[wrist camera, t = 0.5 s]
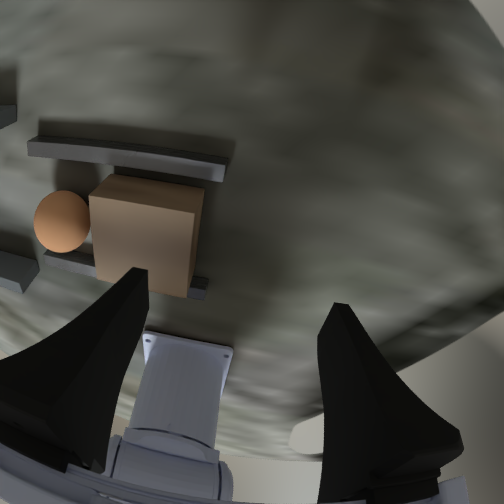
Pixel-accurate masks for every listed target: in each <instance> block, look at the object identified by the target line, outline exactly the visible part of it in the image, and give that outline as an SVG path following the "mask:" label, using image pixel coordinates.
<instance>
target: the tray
mask: <svg viewBox="0 0 504 504" xmlns="http://www.w3.org/2000/svg"><path fill="white" fill-rule="evenodd" d="M16 121H17V118H16V105H0V129H2V128H4V127H6V126H8V125H10V124H12V123H14V122H16ZM38 273H39V267H38V263H37V260H33V259H29V258H26V257H22V256H18V255H15V254H11V253H8V252H4V251H1V250H0V286H1V287H4V288H7V289H9V290H12V291H15V292H18V293H21V294H23V293H24V292H25V291H26V289H27V288H28V286H29V285H30V284H31V282H32V281H33V279H34V278H35V277H36V275H37V274H38Z"/></svg>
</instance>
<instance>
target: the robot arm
mask: <svg viewBox="0 0 504 504" xmlns="http://www.w3.org/2000/svg"><path fill="white" fill-rule="evenodd" d="M148 310H149V289H148V270H146V269H141V268H137V267H132V268H131V269H130V270H129V271H128V272H126V273H125V274H124V275H123V276H122V277H121V278H120V279H119V280H118V281H117V282H116V283H115V284H114V285H113V286H112V287H111V288H110V289H109V290H108V291H107V292H105V293H104V294H103V295H102V296H101V297H100V298H99V299H98V300H97V301H96V302H94V303H93V304H92V305H91V306H90V307H88V308H87V309H86V310H85V311H84V312H82V313H81V314H80V315H79V316H77V317H76V318H75V319H74V320H72V321H71V322H69V323H68V324H67V325H65V326H64V327H62V328H61V329H59V330H58V331H56V332H55V333H53V334H52V335H50V336H48V337H47V338H45V339H43V340H42V341H40V342H38V343H36V344H35V345H33V346H31V347H29V348H27V349H25V350H23V351H21V352H19V353H16V354H14V355H12V356H9V357H7V358H4V359H2V360H0V498H1V499H3V500H4V501H6V502H8V503H9V504H262V503H245V502H233V501H232V497H233V477H232V473H231V471H230V469H229V468H228V466H227V464H226V463H225V462H223V461H219V453H220V451H219V450H215V449H214V446H215V438H216V429H217V420H218V412H219V404H220V398H221V396H222V392H223V388H224V385H225V381H226V377H227V374H228V370H229V366H230V362H231V359H232V355H233V349H232V348H231V347H228V346H222V345H217V344H211V343H206V342H200V341H195V340H190V339H185V338H180V337H175V336H170V335H166V334H161V333H157V332H152V331H144V333H143V346H144V356H145V370H144V373H143V376H142V380H141V383H140V387H139V390H138V394H137V397H136V401H135V404H134V408H133V411H132V415H131V419H130V423H129V427H126V428H125V432H124V435H123V439H122V436H120V435H114V436H113V437H111V438H110V433H111V428H112V423H113V418H114V414H115V409H116V405H117V400H118V396H119V392H120V389H121V385H122V382H123V379H124V376H125V373H126V371H127V368H128V366H129V363H130V361H131V358H132V356H133V353H134V351H135V348H136V346H137V343H138V341H139V338H140V336H141V333H142V331H143V328H144V324H145V321H146V317H147V314H148ZM317 356H318V367H319V375H320V382H321V390H322V398H323V407H324V447H323V462H322V473H321V481H320V488H319V495H318V500H317V504H470V502H469V497H468V491H467V486H466V481H465V477H464V476H460V477H457V478H453V479H449V480H446V481H443V482H440V483H438V481H437V477H439V476H440V475H441V472H440V468H441V467H443V466H444V465H446V464H447V463H449V462H451V461H452V460H454V459H455V458H457V457H458V456H459V455H461V454H462V452H463V450H464V446H463V443H462V439H461V435H460V431H459V430H458V429H457V428H455V427H454V426H453V425H451V424H450V423H448V422H447V421H446V420H444V419H443V418H441V417H440V416H439V415H438V414H437V413H435V412H434V411H433V410H432V409H431V408H429V407H428V406H427V405H426V404H425V403H424V402H422V400H421V399H420V398H418V397H417V395H415V394H414V393H413V392H412V391H411V390H410V389H409V387H408V386H407V385H406V384H405V383H404V382H403V381H402V380H401V378H400V377H399V376H398V375H397V374H396V373H395V371H394V370H393V369H392V368H391V366H390V365H389V364H388V362H387V361H386V360H385V358H384V357H383V356H382V354H381V353H380V351H379V350H378V349H377V347H376V346H375V344H374V343H373V341H372V340H371V338H370V337H369V335H368V334H367V332H366V331H365V329H364V327H363V326H362V324H361V323H360V321H359V320H358V318H357V317H356V315H355V313H354V312H353V310H352V309H351V307H350V306H349V304H342V303H335V302H334V304H333V306H332V308H331V310H330V312H329V314H328V316H327V318H326V320H325V322H324V324H323V326H322V328H321V330H320V332H319V334H318V336H317Z"/></svg>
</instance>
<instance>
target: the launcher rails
mask: <svg viewBox="0 0 504 504" xmlns="http://www.w3.org/2000/svg"><path fill="white" fill-rule="evenodd" d="M27 148H28V156H34V157H45V158H56V159H65V160H75V161H83V162H92V163H100V164H108V165H116V166H123V167H130V168H137V169H144V170H151V171H157V172H164V173H170V174H176V175H182V176H188V177H194V178H200V179H206V180H211V181H217V182H222V183H223V180H224V176H225V173H226V167H227V161H228V158H223V157H218V156H212V155H206V154H200V153H194V152H188V151H182V150H175V149H168V148H161V147H154V146H146V145H138V144H130V143H122V142H112V141H103V140H92V139H81V138H68V137H53V136H36V137H34V138H32V139H31V140H29V141H27ZM43 255H44V260H45V264H46V265H49V266H52V267H56V268H60V269H64V270H68V271H72V272H76V273H80V274H84V275H88V276H92V277H96V278H97V274H96V267H95V259H94V255H89V254H85V253H80V252H76V251H69V252H63V253H59V252H54V251H51V250H49V249H47V251H46V252H45V253H44V254H43ZM207 284H208V279H206V278H200V277H195V276H192V280H191V283H190V287H189V290H188V294H187V297H188V298H193V299H198V300H204V299H205V295H206V290H207Z"/></svg>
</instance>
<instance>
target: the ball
mask: <svg viewBox="0 0 504 504" xmlns="http://www.w3.org/2000/svg"><path fill="white" fill-rule="evenodd" d="M90 225H91V222H90V212H89V209H88V206H87V204H86V203H85V201H84V200H83V199H82V198H81V197H80V196H79V195H77V194H75V193H73V192H70V191H64V190H62V191H56V192H53V193H51V194H49V195H48V196H46V197H45V198H44V199H43V200H42V201H41V202H40V204H39V205H38V207H37V209H36V212H35V216H34V229H35V233H36V236H37V238H38V239H39V241H40V242H41V243H42V245H43V246H45V247H46V248H47V249H49V250H51V251H54V252H59V253H63V252H69V251H72V250H74V249H76V248H77V247H78V246H80V245H81V244H82V243H83V242H84V240H85V239H86V237H87V235H88V233H89V230H90Z"/></svg>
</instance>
